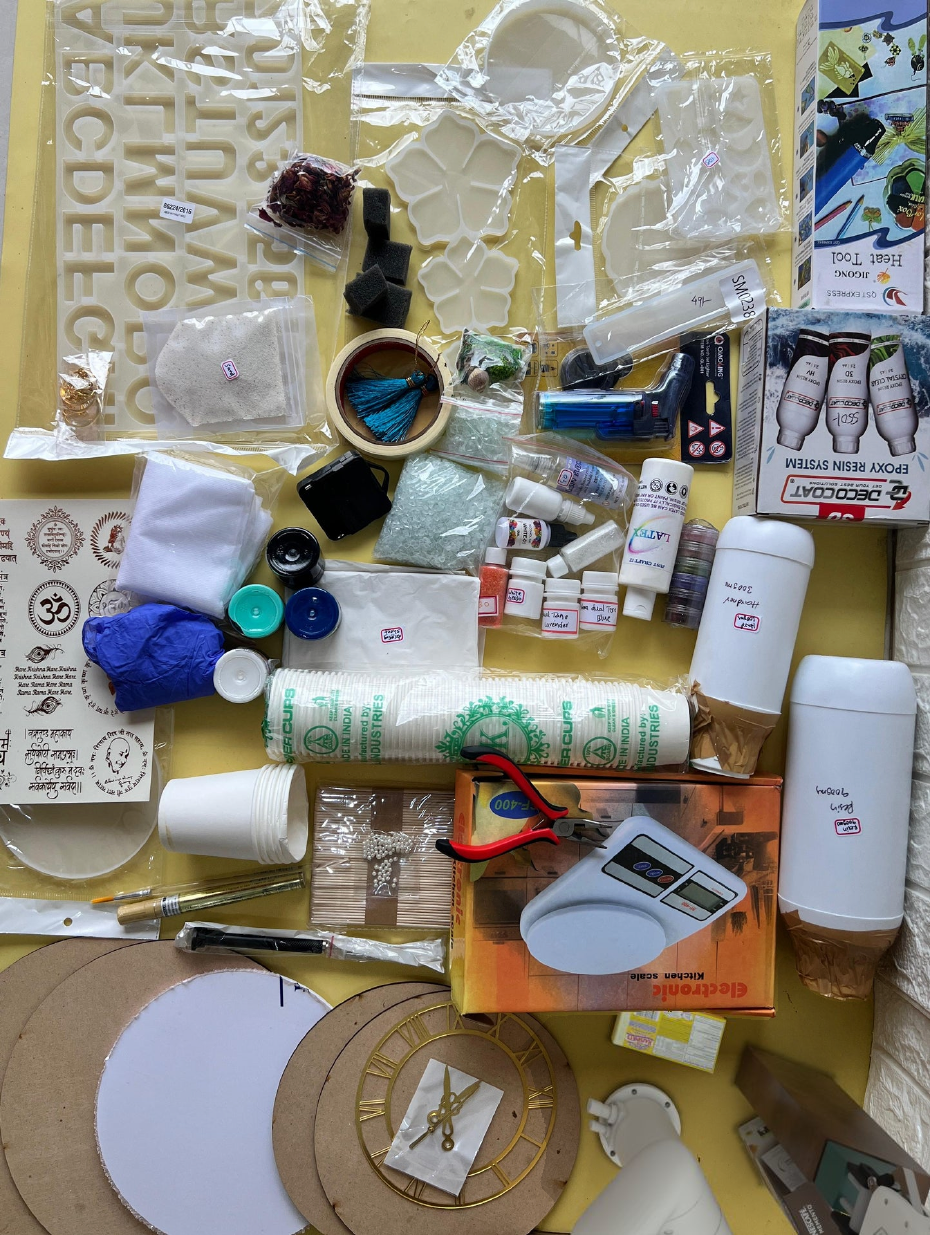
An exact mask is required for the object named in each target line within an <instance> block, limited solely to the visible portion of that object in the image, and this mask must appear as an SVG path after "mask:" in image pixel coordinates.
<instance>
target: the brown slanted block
mask: <svg viewBox="0 0 930 1235" xmlns="http://www.w3.org/2000/svg"><path fill="white" fill-rule="evenodd" d="M733 1084H734V1085H735V1086H736V1088H737V1089H738V1090H739V1091H740V1093H741V1094H742V1095H743V1097H744V1098H745V1099H746V1101H747V1102H748V1104H750V1106H751V1107H752V1109H753V1110H754V1112H755V1113H756V1114H757V1116H759V1117H760V1118H761V1119H762V1121H763V1122H764V1123H765V1125H766V1126H767V1127H768V1128H769V1130H770V1131H771V1132H772V1134H773V1135H774V1136H775V1138H776V1139H777V1140H778V1142H779V1143H780V1144H781V1146H782V1147H783V1148H784V1150H785V1151H786V1152H787V1154H788V1155H789V1156H790V1158H791V1159H792V1160H793V1162H794V1163H795V1164H796V1166H797V1167H798V1168H799V1170H800V1171H801V1172H802V1174H803V1175H804V1176H805V1178H806V1179H807V1180H808V1182H809V1183H810V1184H811V1185H814V1183H815V1180H816V1176H817V1173H818V1170H819V1167H820V1164H821V1161H822V1158H823V1155H824V1152H825V1149H826V1145H827V1142H828V1141H831V1142H833V1143H836V1144H839V1145H841V1146H844V1147H846V1148H849V1149H851V1150H854V1151H857V1152H859V1153H862V1154H864V1155H867V1156H869V1157H872V1158H875V1159H877V1160H880V1161H882V1162H885V1163H887V1164H890V1165H893V1166H895V1167H896V1168H898V1167H900V1166H902V1167H904V1168H907V1169H910V1170H912V1171H913V1173H914V1176H915V1180H916V1184H917V1188H918V1192H919V1196H920V1200H921V1204H922V1205H923V1206H924V1207H926V1203H927V1199H928V1196H929V1192H930V1173H928V1171H926V1170H925V1169H924V1168H923V1167H922V1166H921V1165H920V1164H919V1163H918V1162H917V1161H916V1160H915V1159H914V1158H913V1156H911V1155H910V1154H909V1153H908V1152H907V1151H906V1150H905V1149H904V1148H903V1146H901V1145H900V1144H899V1143H898V1142H897V1141H896V1140H895V1139H894V1138H893V1137H892V1136H891V1135H890V1134H889V1133H888V1132H887V1131H886V1130H885V1129H884V1128H883V1127H882V1125H880V1124H879V1123H877V1121H876V1120H875V1119H874V1118H873V1117H872V1116H871V1115H869V1114H868V1112H867V1111H865V1110H864V1108H862V1107H861V1105H860V1104H858V1103H857V1101H856V1100H854V1098H853V1097H852V1096H851V1095H850V1094H848V1092H846V1091H845V1090H844V1089H843V1088H842V1087H841V1086H840V1085H839V1084H838V1083H837V1082H836V1081H835V1080H834V1079H833V1078H832V1077H829V1076H826V1075H824V1074H822V1073H819V1072H816V1071H813V1070H811V1069H809V1068H806V1067H803V1066H801V1065H798V1064H796V1063H794V1062H790V1061H788V1060H785V1059H783V1058H780V1057H779V1056H775V1055H773V1054H770V1053H767V1052H765V1051H762V1050H759V1049H758V1048H754V1047H752V1046H750V1045H746V1046H745V1049H744V1052H743V1055H742V1058H741V1061H740V1064H739V1067H738V1070H737V1072H736V1076H735V1078H734V1082H733Z"/></svg>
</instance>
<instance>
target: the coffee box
mask: <svg viewBox="0 0 930 1235" xmlns="http://www.w3.org/2000/svg"><path fill="white" fill-rule="evenodd" d="M737 1131H738V1133H739V1136H740V1137H741V1139H742V1141H743V1143H744V1146H745V1148H746V1150H747V1152H748V1155H749V1156H750V1158H751V1161H752V1162H753V1164H754V1167H755V1169H756V1171H757V1173H758V1175H759V1177H760V1179H761V1181H762V1183H763V1185H764V1186H765V1188H766V1189H767V1191H768V1192H769V1194H770V1195H771V1197H772V1198H773V1200H774V1201H775V1202H776V1204H777V1206H778V1208H779V1209H780V1211H781V1212H782V1214H783V1215H784V1216H785V1218H786V1219H787V1221H788V1222H789V1225H791V1227H792V1229H793V1230H794V1232H795V1234H796V1235H842V1234H841V1232H840V1231H839V1227H838V1226H837V1224H836V1223H835V1222H834V1220H833V1219H832V1218H831V1216H830V1215H831V1212H832V1211H833V1210H834V1209H832V1208H831V1207H830V1205H829V1204H828V1203H827V1201H826V1200H825V1199H824V1197H823V1196H822V1195H821V1194H820V1192H819V1191H818V1190H817V1188H816V1187H815V1186H814V1185H811V1184H810V1183H809V1182H808V1180H807V1179H806V1178H805V1176H804V1175H803V1174H802V1172H801V1171H800V1170H799V1168H798V1167H797V1166H796V1164H795V1163H794V1162H793V1160H792V1159H791V1158H790V1156H789V1155H788V1154H787V1152H786V1151H785V1150H784V1148H783V1147H782V1146H781V1144H780V1143H779V1142H778V1140H777V1139H776V1138H775V1136H774V1135H773V1134H772V1132H771V1131H770V1130H769V1128H768V1127H767V1126H766V1125H765V1123H764V1122H763V1121H762V1119H761V1118H760V1117H759V1115H757V1117H755V1118H753V1119H751V1120H749V1121H748V1122H745V1123H744V1124H743V1125H741V1126H739V1127H738V1129H737ZM835 1211H837V1210H835ZM838 1212H840V1211H838ZM840 1213H842V1212H840Z"/></svg>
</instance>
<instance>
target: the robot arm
mask: <svg viewBox="0 0 930 1235" xmlns="http://www.w3.org/2000/svg"><path fill="white" fill-rule="evenodd" d="M586 1112H587V1113H588V1114H590V1115H593V1116H596V1117H598V1120H595V1119H593V1118H591V1119H590V1121H589V1124H588V1128H589V1130H590V1131H593V1132H595V1133H598V1135H599V1139H600V1142H601V1145H602V1148H603V1149H604V1151H605V1153H606V1155H607V1157H609V1159H610V1160H611V1161H612V1162H613V1163H615V1164H616V1165H617V1166H618V1167H619V1168H621V1169H620V1170H619V1171H618V1172H617V1174H616V1175H615V1176H614V1177H613V1178H612V1179H611V1180H610V1181H609V1182H608V1184H607V1185H606V1186H605V1187H604V1188H603V1189H602V1191H601V1192H600V1193H599V1194H598V1195H597V1196H596V1197H595V1198H594V1200H592V1202H591V1203H590V1204H589V1205H588V1206H587V1207H586V1209H585V1210H584V1211H583V1212H582V1213H581V1215H580V1216H579V1217H578V1219H577V1220H576V1222H575V1223H574V1225H573V1227H572V1229H571V1231H570V1235H734V1233H733V1231H732V1229H731V1227H730V1226H731V1225H729V1222H728V1220H727V1218H726V1216H725V1214H724V1212H723V1210H722V1208H721V1206H720V1203H719V1202H718V1201H717V1198H716V1196H715V1194H714V1192H713V1190H712V1188H711V1186H710V1183H709V1182H708V1179H707V1177H706V1175H705V1173H704V1171H703V1169H702V1167H701V1165H700V1162H698V1160H697V1158H696V1156H695V1155H694V1153H693V1152H692V1151H691V1150H690V1148H689V1147H687V1146H686V1145H685V1142H684V1140H682V1138H681V1133H682V1132H681V1131H682V1128H681V1119H680V1115H679V1112H678V1110H677V1108H676V1105H675V1104H674V1102H673V1101H672V1099H671V1098H670V1097H669V1096H668V1095H667V1093H665V1092H664V1091H663V1090H662V1089H660V1088H658V1087H656V1086H654V1085H652V1084H649V1083H643V1082H636V1083H629V1084H626V1085H623V1086H621V1087H619V1088H618V1089H616V1090H615V1091H614V1092H612V1093H611V1094H610V1095H609V1097H608V1098H607V1099H606V1100H605V1102H604V1103H603V1102H602V1101H599V1100H597V1099H595V1098H592V1097H590V1098H589V1099H588V1100H587V1104H586ZM846 1166H847V1169H848V1170H849V1172H850V1173H851V1174H852V1175H853V1176H854V1177H855V1179H856V1180H857V1181H858V1182H859V1183H860V1184H861V1186H862V1187H864V1188H865V1189H868V1190H870V1191H871V1193H872V1197H871V1200H870V1203H869V1206H868V1209H867V1212H866V1215H865V1218H864V1221H863V1224H862V1227H861V1230H860V1234H858V1233H856V1232H855V1231H853V1230H852V1229H851V1228H850V1227H849V1223H850V1219H851V1217H850V1215H847V1214H845V1213H842V1212H841V1213H840V1212H838V1211H835V1210H833V1211H832V1212H831V1215H830V1216H831V1218H832V1219H833V1220H834V1222H835V1223H836V1224H837V1226H838V1227H839V1231H840V1232H841V1234H842V1235H930V1211H929V1210H928V1209H927V1208H926V1206H923V1205H922V1204H921V1200H920V1196H919V1192H918V1188H917V1184H916V1180H915V1176H914V1173H913V1171H912V1170H910V1169H907V1168H904V1167H902V1166H900V1167H898V1168H897V1169H895V1170H893V1171H892V1173H890V1174H889V1173H885V1174H883V1175H881V1176H879V1175H878V1173H877V1172H876V1171H875V1170H874V1169H873V1168H872V1167H870V1166H869V1165H867V1164H864V1163H860V1165H857V1164H854V1163H852V1162H849V1161H848V1162H847V1165H846ZM900 1191H901V1193H902V1196H901V1195H900V1194H899V1192H900Z"/></svg>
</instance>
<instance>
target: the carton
mask: <svg viewBox="0 0 930 1235" xmlns="http://www.w3.org/2000/svg"><path fill="white" fill-rule="evenodd" d="M848 1161H849V1162H852V1163H854V1164H857V1165H860V1163H864V1164H867V1165H869V1166H870V1167H872V1168H873V1169H874V1170H875V1171H876V1172H877V1173H878V1175H879V1176H881V1175H883V1174H885V1173H889V1174H890V1173H892V1171H893V1170H895V1169H897V1168H896V1167H895V1166H893V1165H890V1164H887V1163H885V1162H882V1161H880V1160H877V1159H875V1158H872V1157H869V1156H867V1155H864V1154H862V1153H859V1152H857V1151H854V1150H851V1149H849V1148H846V1147H844V1146H841V1145H839V1144H836V1143H833V1142H831V1141H828V1142H827V1145H826V1149H825V1152H824V1155H823V1158H822V1161H821V1164H820V1167H819V1170H818V1173H817V1176H816V1180H815V1183H814V1186H815V1187H816V1188H817V1190H818V1191H819V1192H820V1194H821V1195H822V1196H823V1197H824V1199H825V1200H826V1201H827V1203H828V1204H829V1205H830V1207H831V1208H832V1209H834V1210H837V1211H840V1212H841V1213H843V1214H845V1215H848V1216H850V1217H851V1219H850V1223H849V1227H850V1228H851V1229H852V1230H853V1231H855V1232H856V1233H858V1234H860V1230H861V1227H862V1224H863V1221H864V1218H865V1215H866V1212H867V1209H868V1206H869V1203H870V1200H871V1197H872V1193H871V1191H870V1190H868V1189H865V1188H864V1187H862V1186H861V1184H860V1183H859V1182H858V1181H857V1180H856V1179H855V1177H854V1176H853V1175H852V1174H851V1173H850V1172H849V1170H848V1169H847V1166H846V1165H847V1162H848ZM899 1194H900V1195H901V1196H902V1193H901V1191H900V1192H899Z"/></svg>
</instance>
